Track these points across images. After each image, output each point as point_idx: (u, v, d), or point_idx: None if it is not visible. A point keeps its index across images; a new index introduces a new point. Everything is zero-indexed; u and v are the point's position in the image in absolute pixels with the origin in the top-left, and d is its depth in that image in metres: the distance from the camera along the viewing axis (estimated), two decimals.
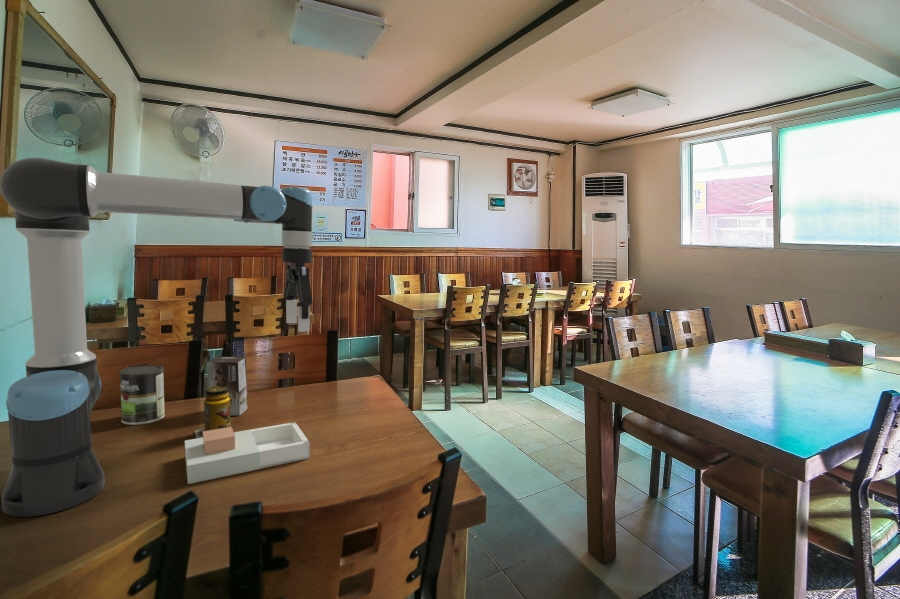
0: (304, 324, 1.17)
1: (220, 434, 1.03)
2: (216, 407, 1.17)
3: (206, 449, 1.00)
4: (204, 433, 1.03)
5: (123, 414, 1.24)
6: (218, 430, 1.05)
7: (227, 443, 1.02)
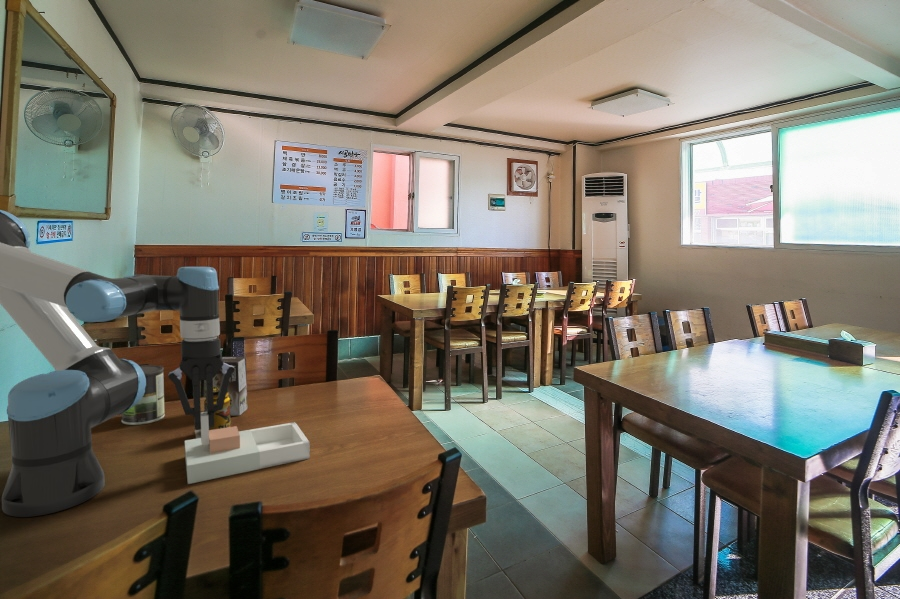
0: None
1: (225, 433, 1.04)
2: None
3: (211, 448, 1.00)
4: (209, 432, 1.04)
5: (123, 414, 1.24)
6: (223, 429, 1.06)
7: (232, 442, 1.02)
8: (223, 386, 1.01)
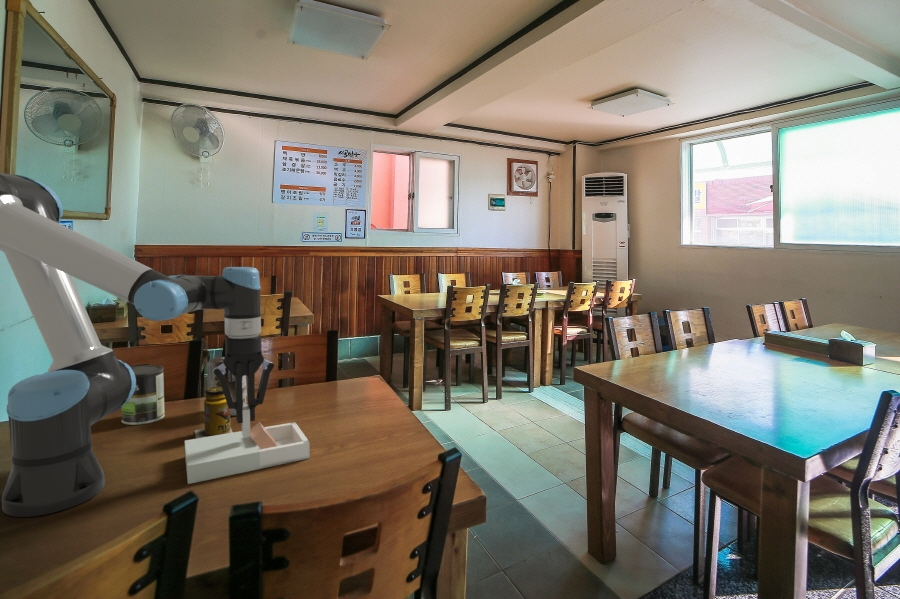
0: (242, 428, 1.06)
1: (270, 436, 1.09)
2: (216, 407, 1.17)
3: (257, 437, 1.05)
4: (261, 424, 1.10)
5: (123, 414, 1.24)
6: (267, 432, 1.11)
7: None
8: (264, 381, 1.06)
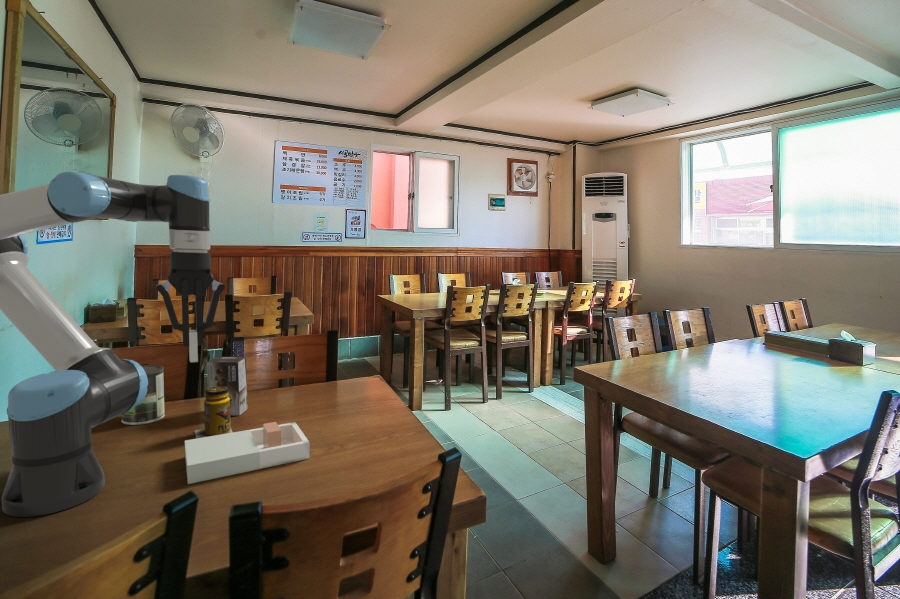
0: (189, 352, 0.98)
1: None
2: (216, 407, 1.17)
3: (272, 433, 1.07)
4: None
5: (123, 414, 1.24)
6: None
7: None
8: (213, 303, 0.99)
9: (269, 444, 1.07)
